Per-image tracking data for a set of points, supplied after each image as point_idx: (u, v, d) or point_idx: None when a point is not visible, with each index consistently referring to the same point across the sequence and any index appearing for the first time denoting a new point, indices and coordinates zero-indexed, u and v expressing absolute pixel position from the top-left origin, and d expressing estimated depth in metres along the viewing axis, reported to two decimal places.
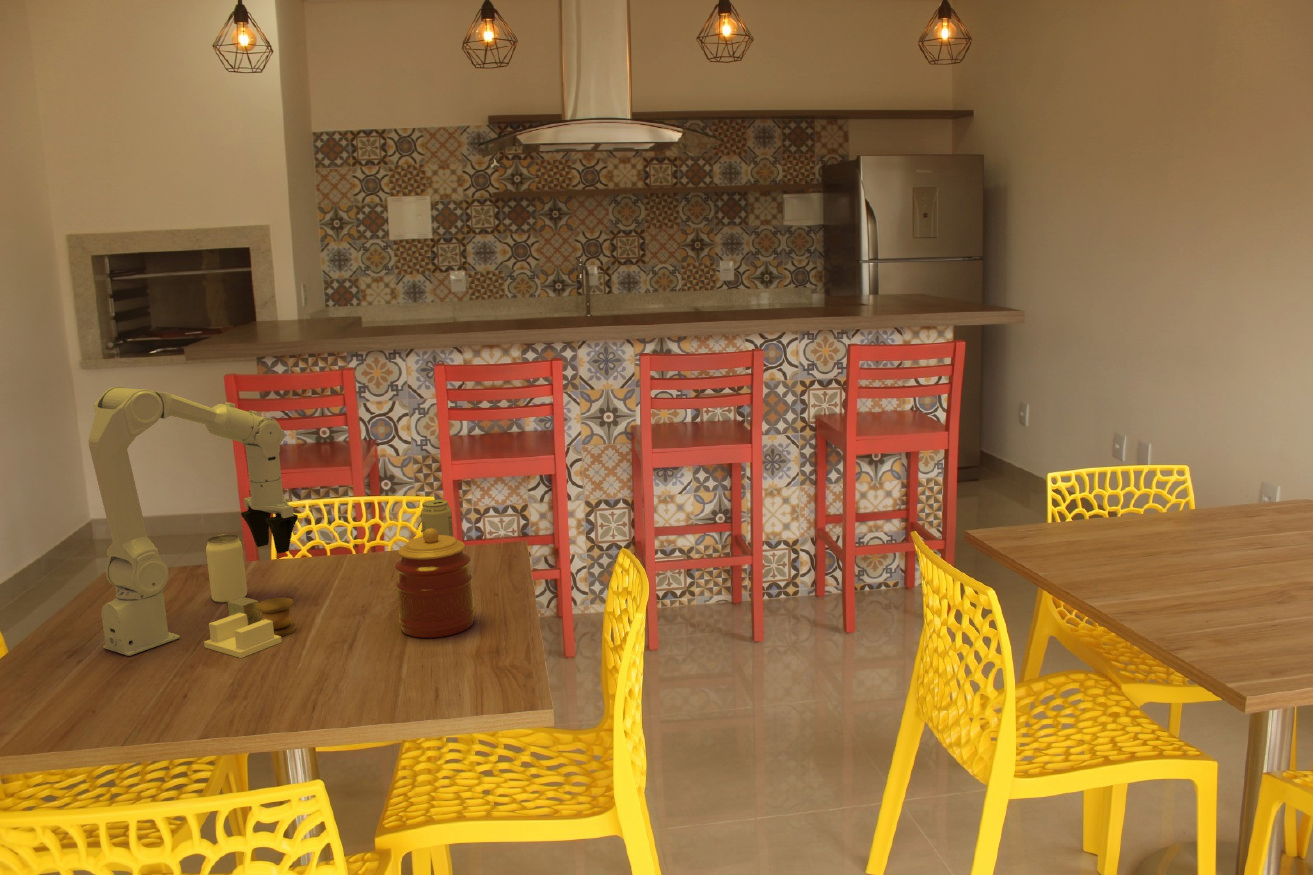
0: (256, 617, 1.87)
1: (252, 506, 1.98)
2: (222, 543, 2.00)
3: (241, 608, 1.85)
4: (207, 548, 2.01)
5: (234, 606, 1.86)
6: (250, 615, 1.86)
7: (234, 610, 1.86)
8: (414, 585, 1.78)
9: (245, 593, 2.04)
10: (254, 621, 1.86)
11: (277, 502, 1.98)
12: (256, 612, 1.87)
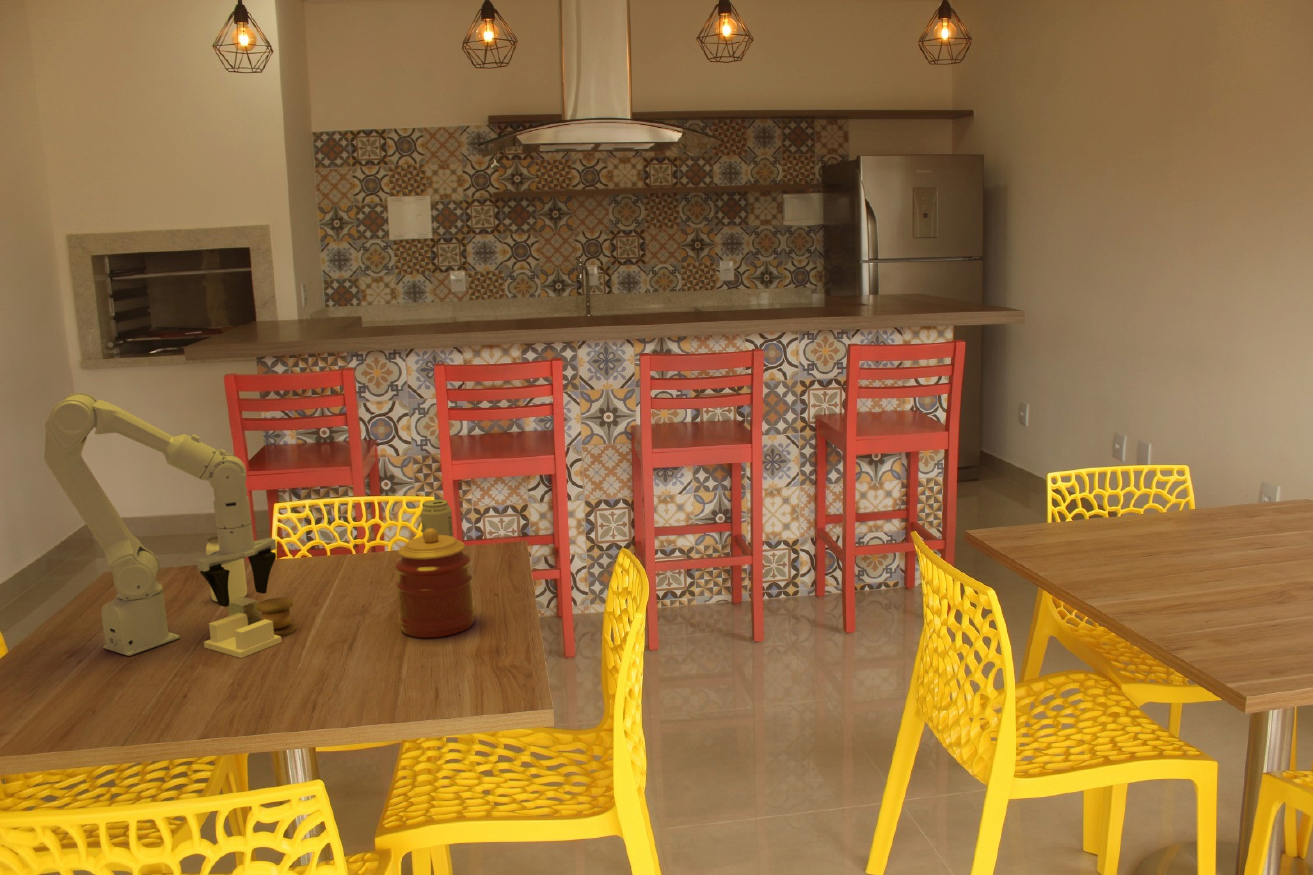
0: (256, 617, 1.87)
1: None
2: None
3: (241, 608, 1.85)
4: (207, 548, 2.01)
5: (234, 606, 1.86)
6: (250, 615, 1.86)
7: (234, 610, 1.86)
8: (414, 585, 1.78)
9: (245, 593, 2.04)
10: (254, 621, 1.86)
11: (224, 552, 1.82)
12: (256, 612, 1.87)
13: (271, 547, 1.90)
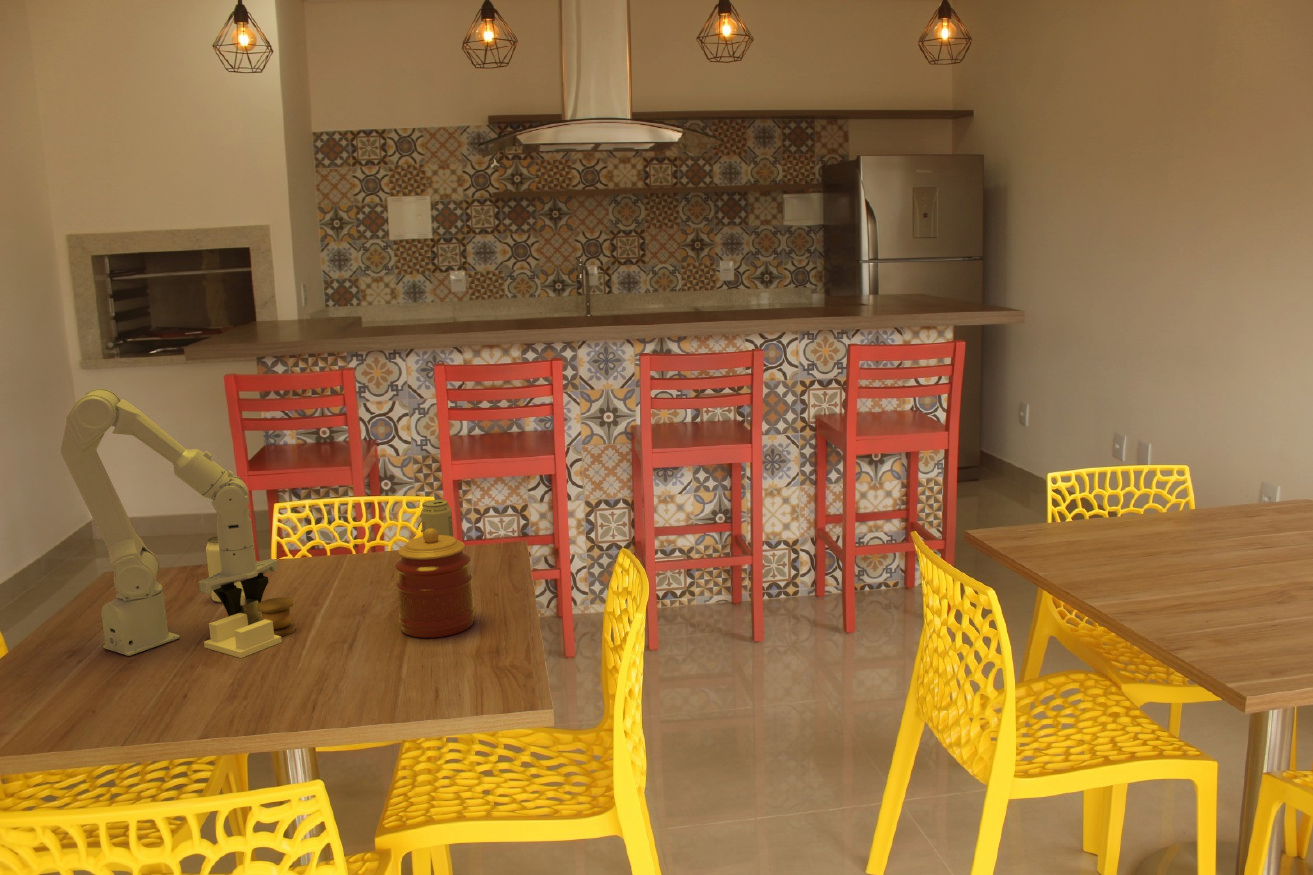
0: (256, 617, 1.87)
1: None
2: None
3: (241, 608, 1.85)
4: (207, 548, 2.01)
5: None
6: (250, 614, 1.86)
7: None
8: (414, 585, 1.78)
9: None
10: (254, 621, 1.86)
11: (226, 574, 1.83)
12: (256, 612, 1.87)
13: (273, 568, 1.91)
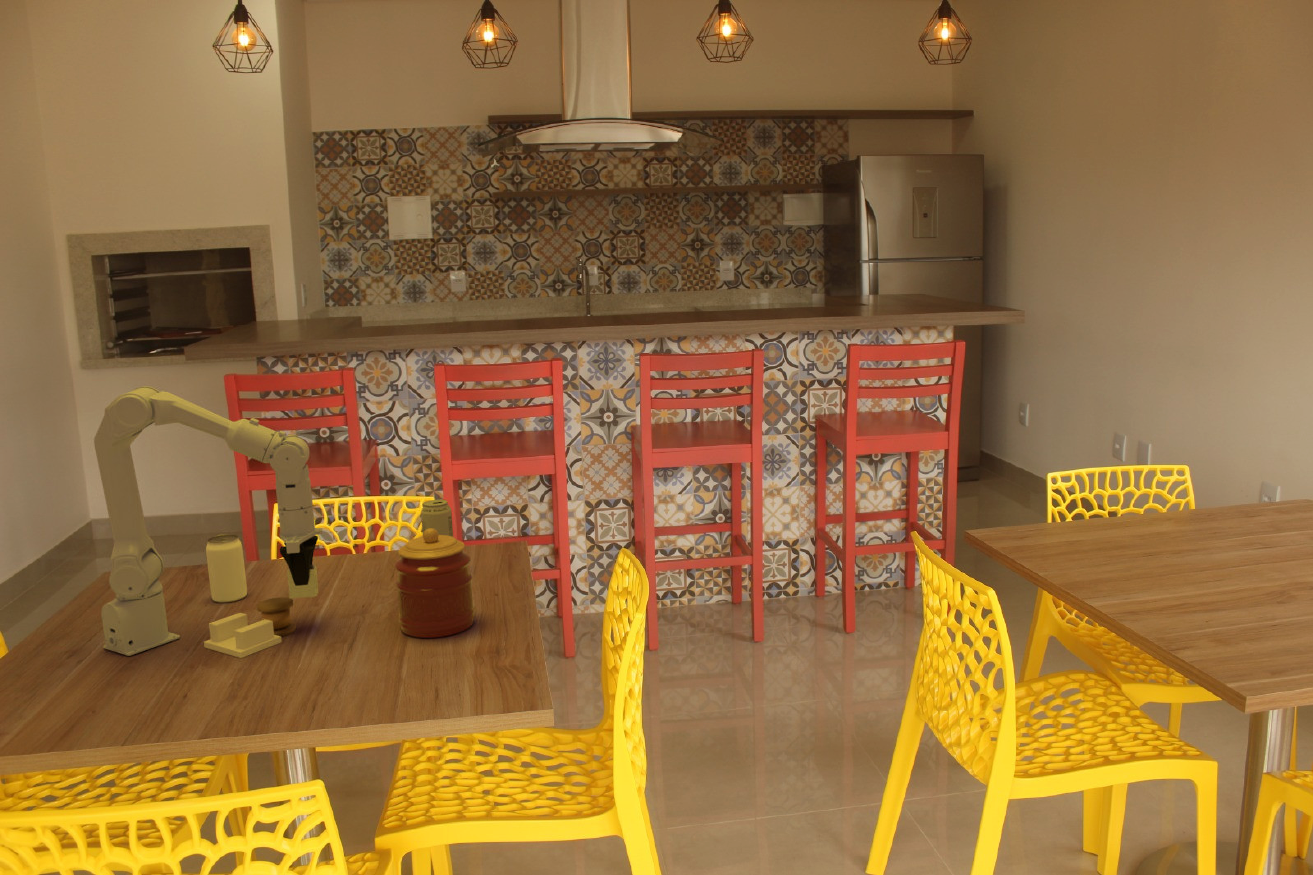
0: (316, 581, 1.86)
1: None
2: (222, 543, 2.00)
3: (311, 572, 1.84)
4: (207, 548, 2.01)
5: None
6: (315, 578, 1.85)
7: None
8: (414, 585, 1.78)
9: (245, 593, 2.04)
10: (316, 585, 1.86)
11: (298, 533, 1.81)
12: (316, 576, 1.86)
13: None
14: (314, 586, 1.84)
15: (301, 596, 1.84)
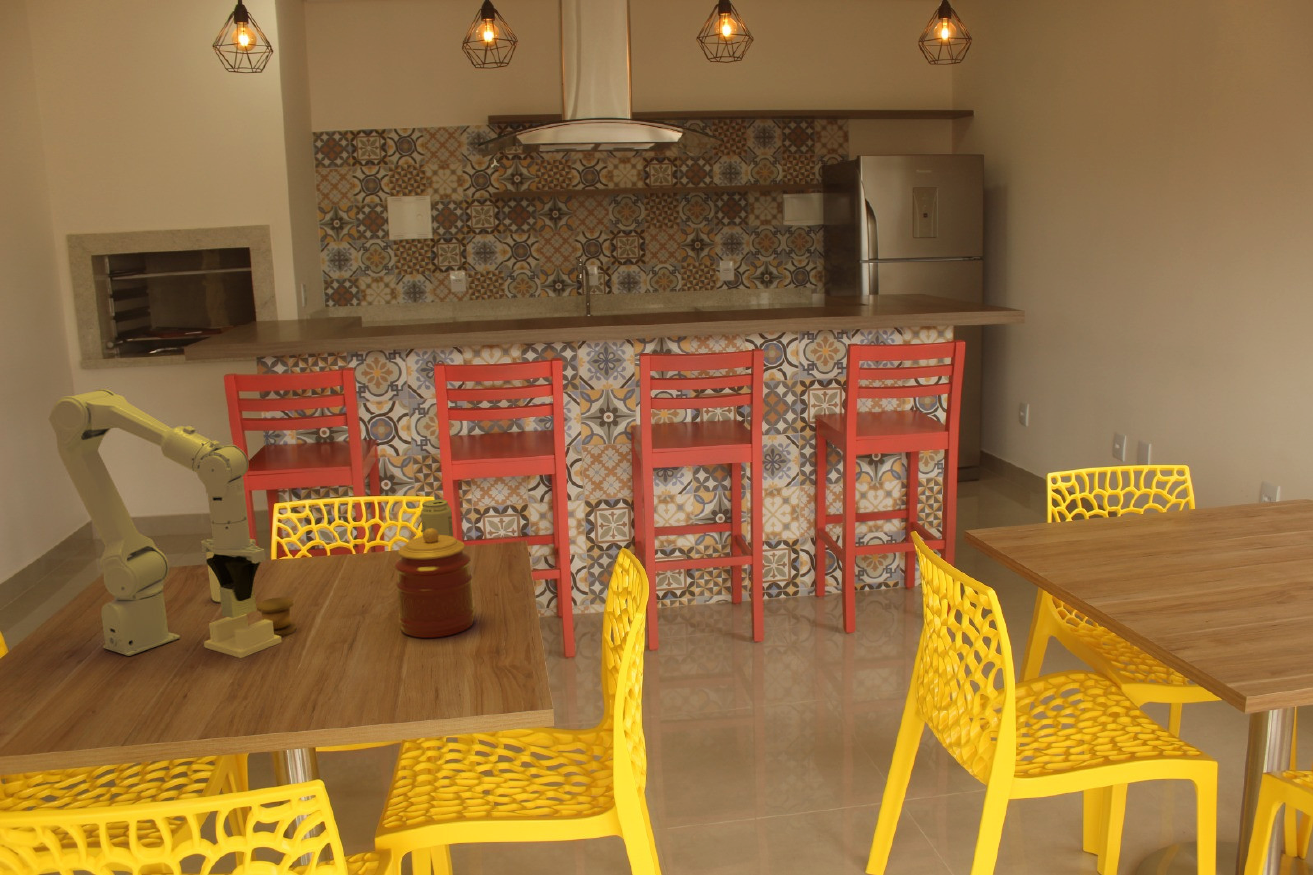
0: None
1: (215, 551, 1.74)
2: None
3: None
4: None
5: None
6: None
7: None
8: (414, 585, 1.78)
9: None
10: None
11: (244, 545, 1.75)
12: None
13: None
14: (254, 600, 1.79)
15: (243, 613, 1.77)
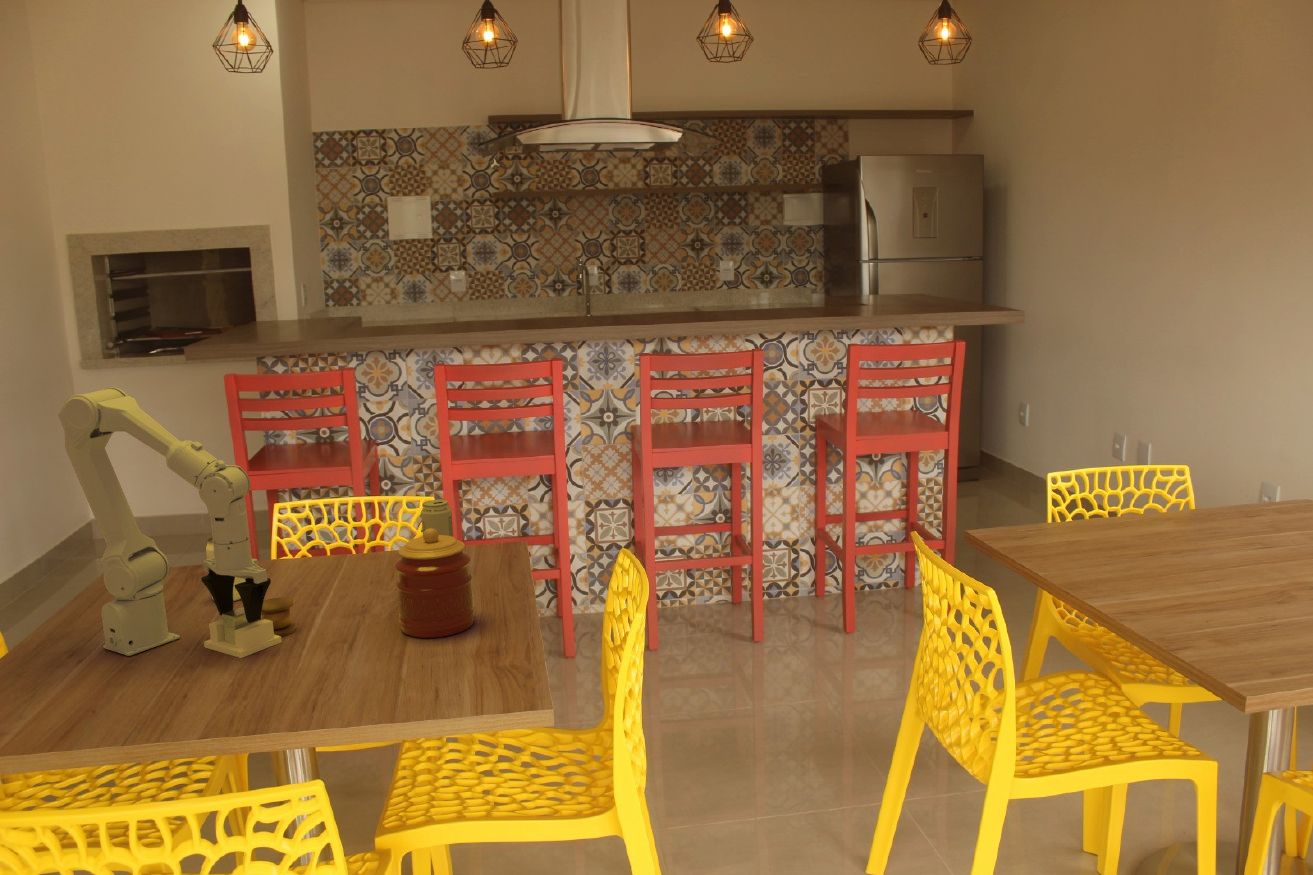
0: None
1: (217, 571, 1.74)
2: None
3: None
4: (207, 548, 2.01)
5: (243, 616, 1.77)
6: None
7: (243, 621, 1.77)
8: (414, 585, 1.78)
9: None
10: None
11: (246, 565, 1.76)
12: None
13: None
14: None
15: None
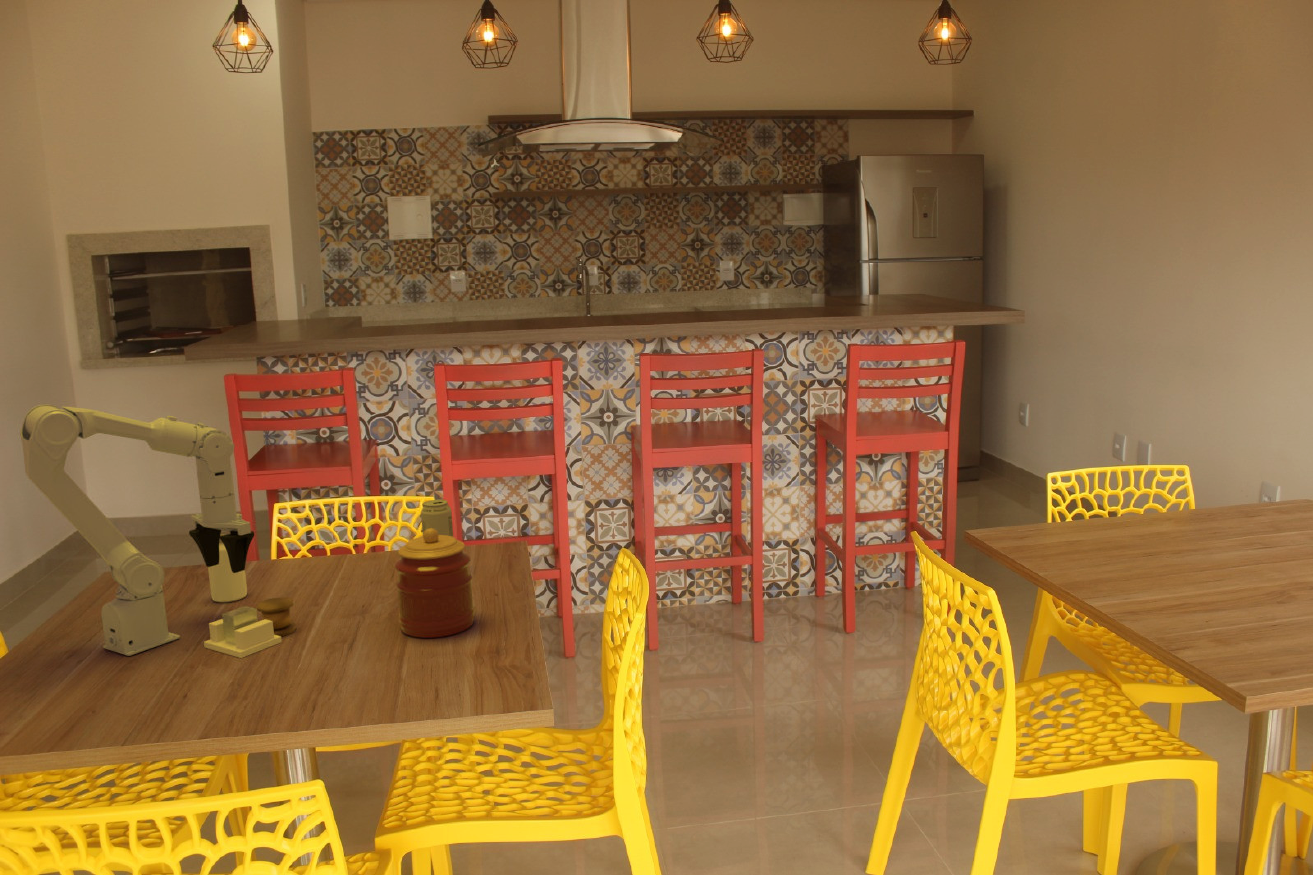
0: None
1: (204, 524, 1.86)
2: (222, 543, 2.00)
3: (254, 613, 1.79)
4: None
5: (243, 616, 1.77)
6: None
7: (243, 621, 1.77)
8: (414, 585, 1.78)
9: (245, 593, 2.04)
10: None
11: (231, 519, 1.87)
12: None
13: None
14: None
15: None
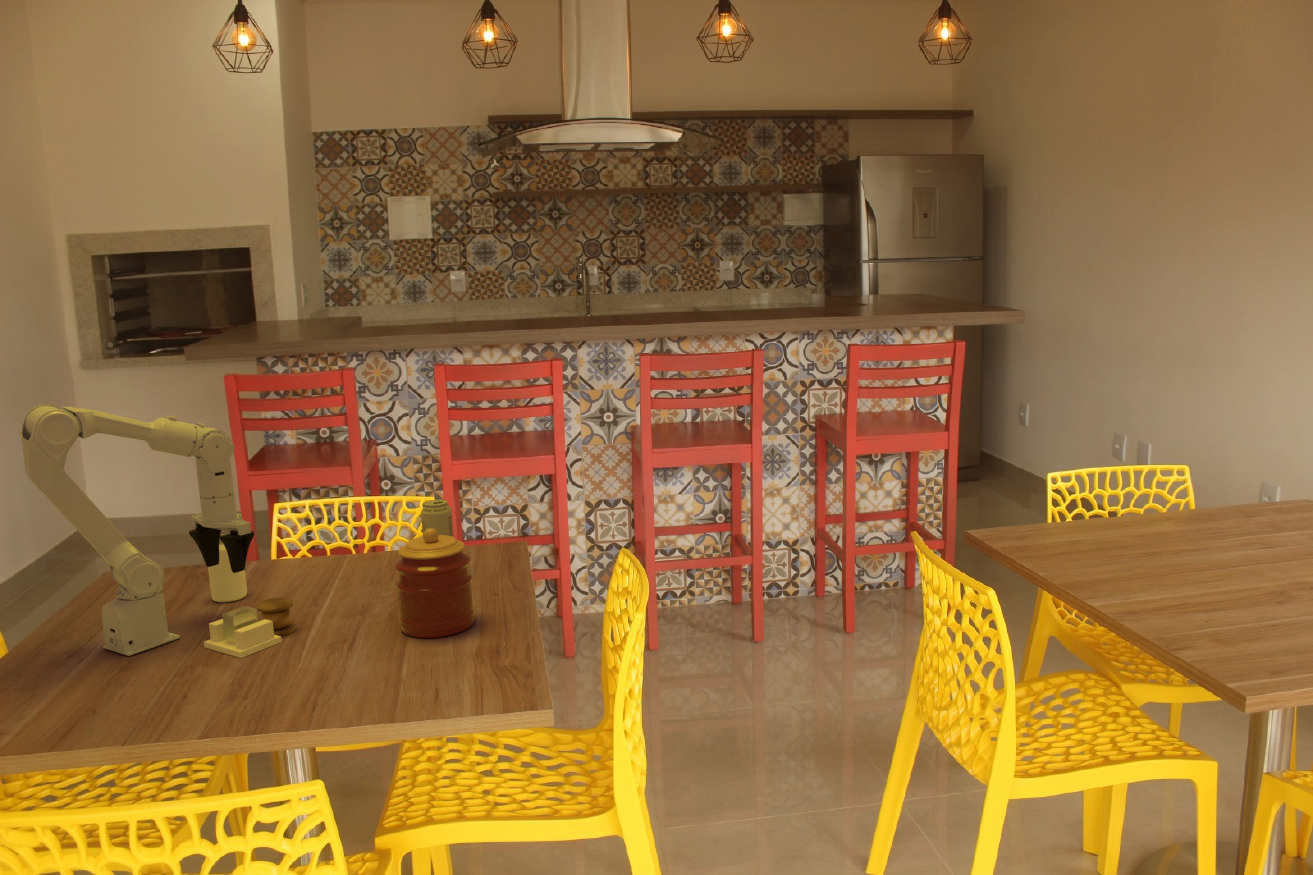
0: None
1: (204, 524, 1.86)
2: (222, 543, 2.00)
3: (254, 613, 1.79)
4: None
5: (243, 616, 1.77)
6: None
7: (243, 621, 1.77)
8: (414, 585, 1.78)
9: (245, 593, 2.04)
10: None
11: (231, 519, 1.87)
12: None
13: None
14: None
15: None
